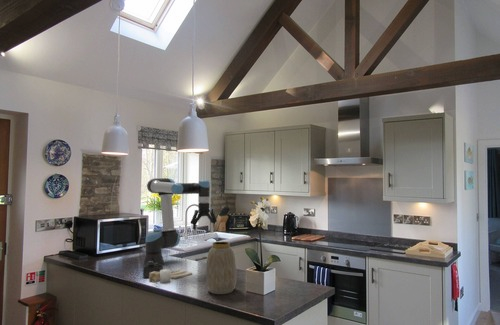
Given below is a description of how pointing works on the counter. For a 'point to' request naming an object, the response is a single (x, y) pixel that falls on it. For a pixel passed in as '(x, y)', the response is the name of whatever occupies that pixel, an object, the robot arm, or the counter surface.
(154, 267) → the camera
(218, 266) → the vase
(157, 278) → the beech block
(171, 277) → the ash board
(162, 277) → the white short cylinder
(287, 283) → the counter surface
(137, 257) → the counter surface
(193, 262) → the counter surface
